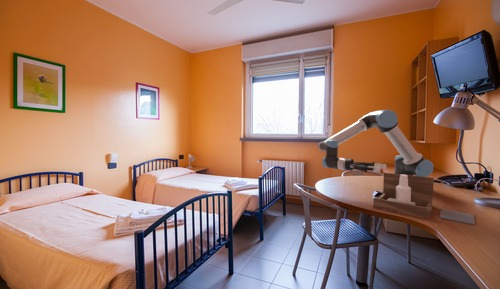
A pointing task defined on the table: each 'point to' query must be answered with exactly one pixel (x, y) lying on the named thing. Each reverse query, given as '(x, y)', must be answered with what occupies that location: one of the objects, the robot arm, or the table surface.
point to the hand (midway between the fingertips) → (383, 168)
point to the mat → (457, 216)
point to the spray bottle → (403, 189)
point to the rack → (419, 195)
